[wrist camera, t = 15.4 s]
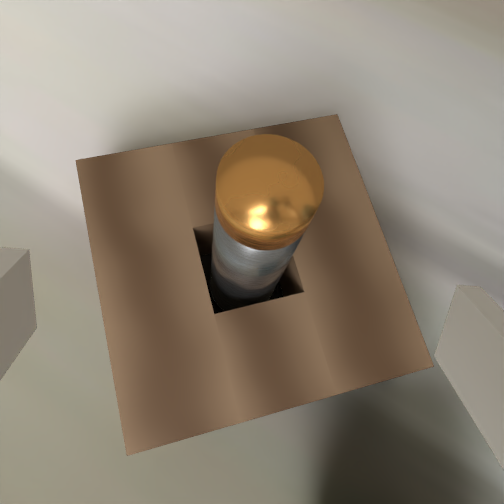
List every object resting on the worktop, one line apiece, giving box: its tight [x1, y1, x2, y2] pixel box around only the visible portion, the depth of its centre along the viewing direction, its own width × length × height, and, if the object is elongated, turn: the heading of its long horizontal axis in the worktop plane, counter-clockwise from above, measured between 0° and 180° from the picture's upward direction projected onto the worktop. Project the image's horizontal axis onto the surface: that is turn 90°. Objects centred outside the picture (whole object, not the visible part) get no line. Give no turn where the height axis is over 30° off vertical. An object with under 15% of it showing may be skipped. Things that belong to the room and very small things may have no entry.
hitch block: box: [76, 114, 434, 456], centre depth 28 cm, size 16×16×5 cm
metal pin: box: [210, 134, 324, 311], centre depth 24 cm, size 4×4×14 cm
